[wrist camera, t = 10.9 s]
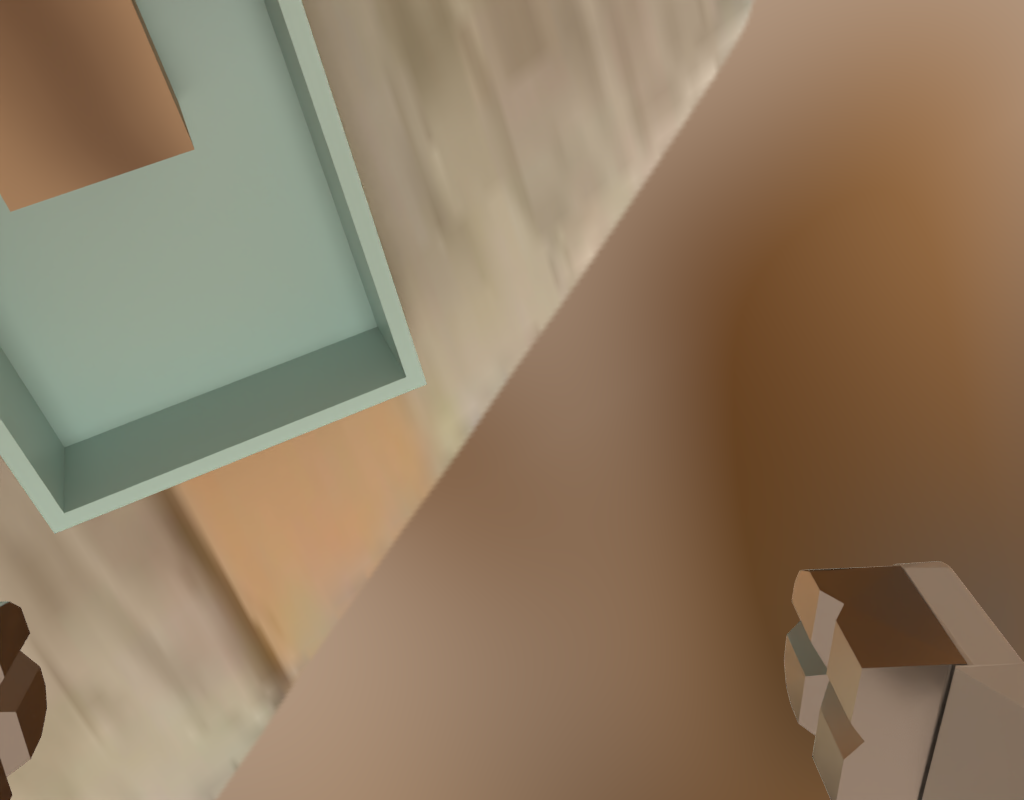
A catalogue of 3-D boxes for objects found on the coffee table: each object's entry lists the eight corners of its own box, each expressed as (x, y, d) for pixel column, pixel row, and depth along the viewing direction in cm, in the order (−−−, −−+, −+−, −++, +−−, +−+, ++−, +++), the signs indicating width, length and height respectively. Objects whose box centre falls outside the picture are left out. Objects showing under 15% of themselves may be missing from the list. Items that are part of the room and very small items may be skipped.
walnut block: (18, 154, 29) (10, 211, 25) (-75, -16, 26) (-100, 19, 23) (178, 102, 30) (194, 149, 26) (106, -69, 27) (111, -44, 23)
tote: (392, 326, 38) (426, 384, 34) (56, 457, 35) (54, 533, 32) (224, -171, 28) (247, -165, 24) (-263, -35, 25) (-318, -5, 22)
